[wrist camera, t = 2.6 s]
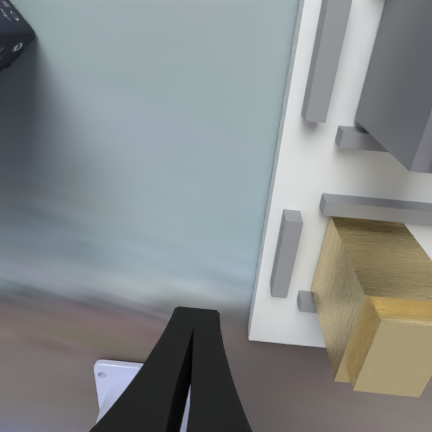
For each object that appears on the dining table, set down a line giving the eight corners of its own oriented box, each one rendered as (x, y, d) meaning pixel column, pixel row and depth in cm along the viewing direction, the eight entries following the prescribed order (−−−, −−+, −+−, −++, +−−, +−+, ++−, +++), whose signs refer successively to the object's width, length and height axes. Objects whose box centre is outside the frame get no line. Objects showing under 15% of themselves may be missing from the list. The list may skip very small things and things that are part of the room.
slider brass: (374, 293, 17) (427, 405, 12) (310, 287, 17) (338, 396, 12) (401, 221, 15) (477, 319, 10) (330, 214, 15) (371, 309, 10)
